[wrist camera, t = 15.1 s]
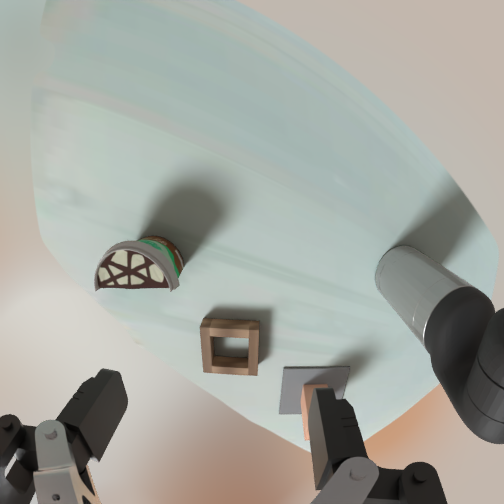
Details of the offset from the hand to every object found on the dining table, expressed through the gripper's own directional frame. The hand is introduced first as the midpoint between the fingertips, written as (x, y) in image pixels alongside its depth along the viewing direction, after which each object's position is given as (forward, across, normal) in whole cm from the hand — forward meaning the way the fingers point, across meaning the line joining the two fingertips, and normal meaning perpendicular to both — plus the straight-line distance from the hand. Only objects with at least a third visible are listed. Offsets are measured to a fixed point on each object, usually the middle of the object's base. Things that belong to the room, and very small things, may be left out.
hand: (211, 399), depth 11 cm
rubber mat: (+33, -12, +30) cm, 46 cm away
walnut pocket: (+33, +3, +19) cm, 38 cm away
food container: (+33, +15, +3) cm, 37 cm away
